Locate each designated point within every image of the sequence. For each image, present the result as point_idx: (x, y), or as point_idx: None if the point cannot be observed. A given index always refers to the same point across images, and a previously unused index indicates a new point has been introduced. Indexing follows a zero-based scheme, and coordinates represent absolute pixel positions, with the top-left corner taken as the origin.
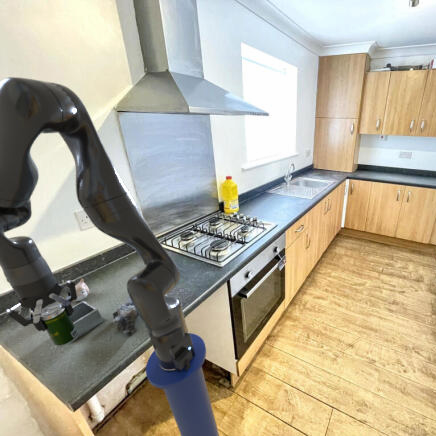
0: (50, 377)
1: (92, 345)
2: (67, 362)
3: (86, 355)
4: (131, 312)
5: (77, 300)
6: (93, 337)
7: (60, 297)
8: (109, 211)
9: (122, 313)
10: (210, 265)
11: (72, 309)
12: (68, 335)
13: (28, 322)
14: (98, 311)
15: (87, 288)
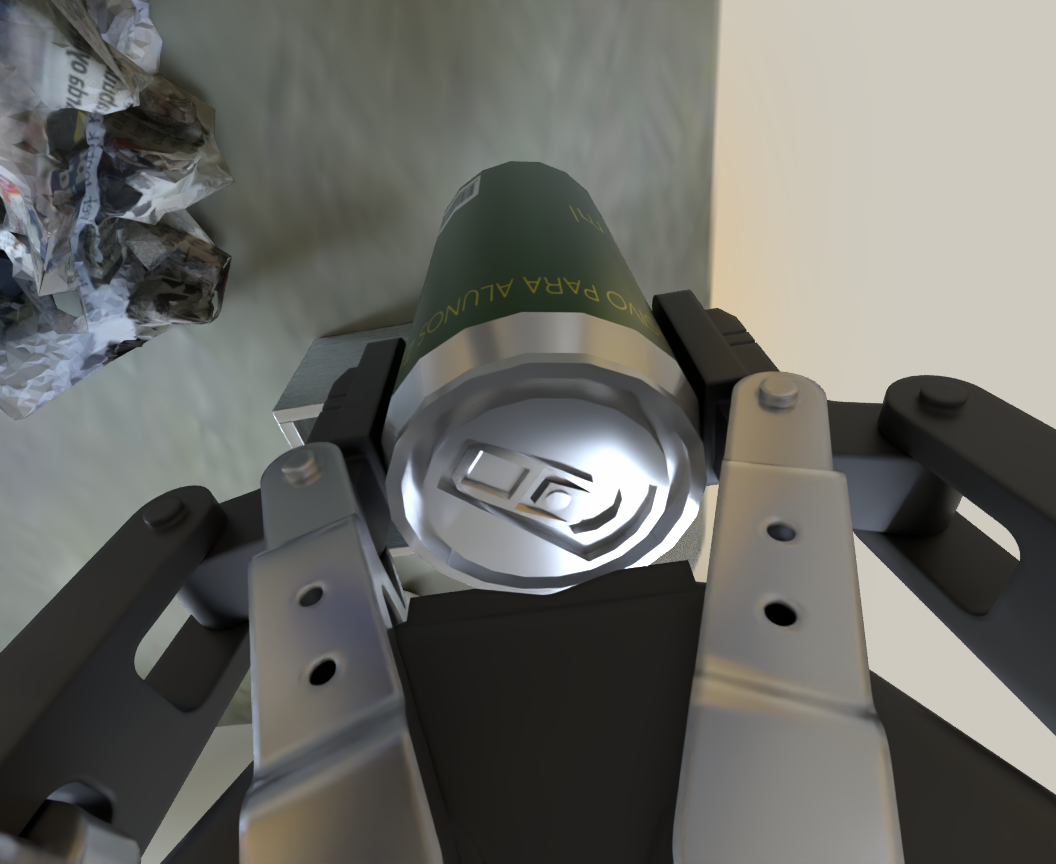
0: (693, 63)
1: (411, 141)
2: (578, 118)
3: (466, 58)
4: None
5: (410, 597)
6: (392, 229)
7: (265, 654)
8: None
9: None
10: None
11: (335, 393)
12: (503, 182)
13: (910, 410)
14: (282, 395)
15: None
